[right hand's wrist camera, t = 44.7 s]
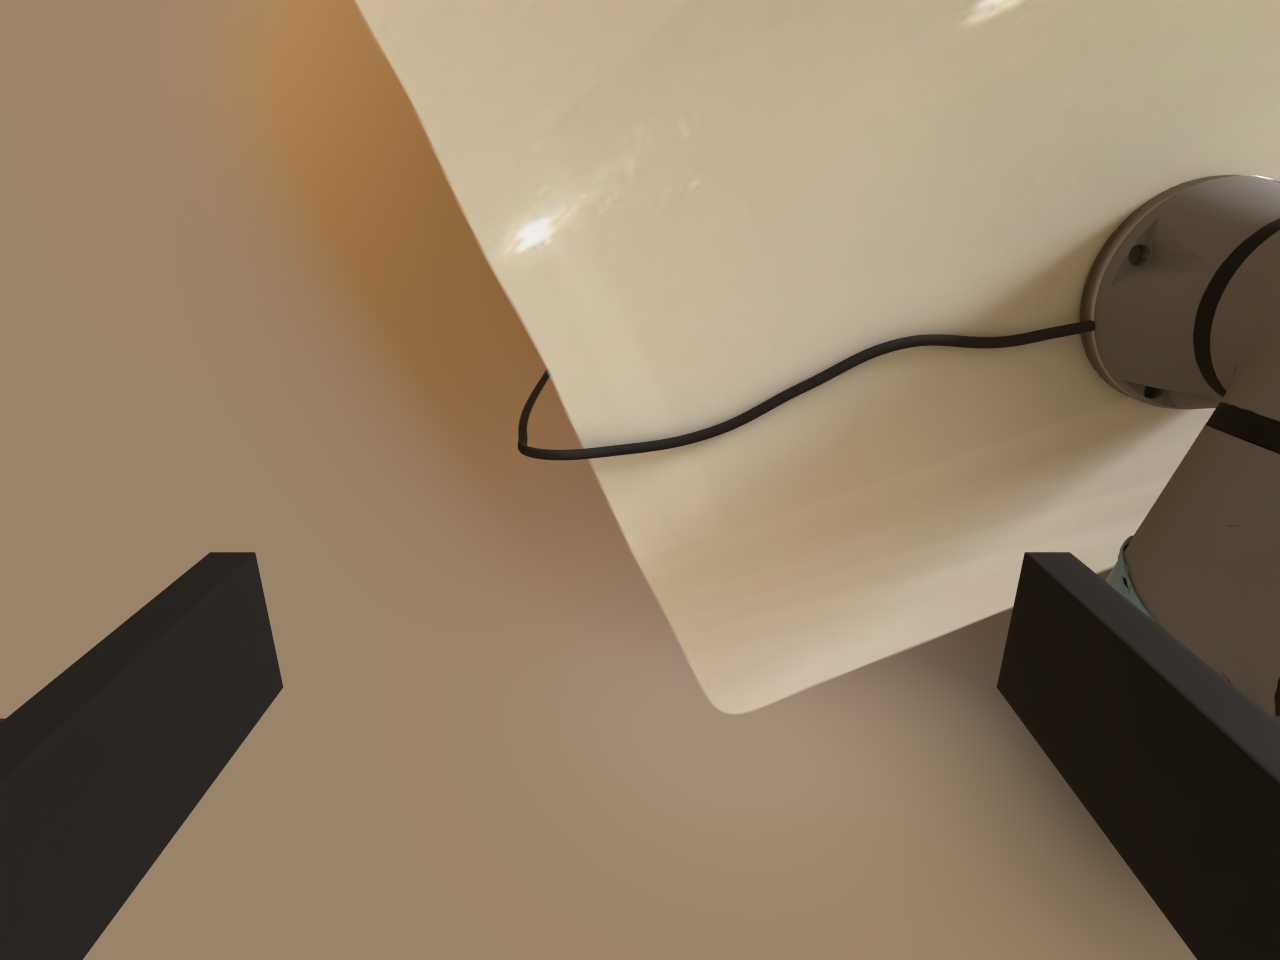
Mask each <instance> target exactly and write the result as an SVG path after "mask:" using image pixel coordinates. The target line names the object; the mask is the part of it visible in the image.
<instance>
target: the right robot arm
mask: <svg viewBox="0 0 1280 960" xmlns="http://www.w3.org/2000/svg"><path fill="white" fill-rule="evenodd" d="M1080 333H1081V335H1082V340H1083V345H1084V348H1085V351H1086V353H1087V356H1088V358H1089V360H1090V362H1091V364H1092V365H1093V367H1094V369H1095V370H1096V371H1097V373H1098V374H1099V375H1100V376H1101V377H1102V378H1103V379H1104V380H1105V381H1106V382H1107V383H1108V384H1109V385H1110V386H1112V387H1113V388H1114V389H1116V390H1118V391H1119V392H1121V393H1123V394H1125V395H1127V396H1129V397H1132V398H1134V399H1137V400H1139V401H1142V402H1144V403H1147V404H1151V405H1154V406H1159V407H1164V408H1173V409H1203V408H1216V409H1215V411H1214V412H1213V414H1212V416H1211V417H1210V419H1209V420H1208V422H1207V423H1206V425H1205V426H1204V428H1203V429H1202V431H1201V432H1200V434H1199V435H1198V437H1197V438H1196V440H1195V442H1194V443H1193V445H1192V446H1191V448H1190V449H1189V451H1188V452H1187V454H1186V455H1185V457H1184V459H1183V460H1182V462H1181V463H1180V465H1179V466H1178V468H1177V469H1176V471H1175V473H1174V474H1173V476H1172V477H1171V479H1170V480H1169V482H1168V483H1167V485H1166V486H1165V488H1164V490H1163V491H1162V493H1161V494H1160V496H1159V497H1158V499H1157V500H1156V502H1155V504H1154V505H1153V507H1152V508H1151V510H1150V511H1149V513H1148V514H1147V516H1146V517H1145V519H1144V521H1143V522H1142V524H1141V525H1140V527H1139V528H1138V530H1137V531H1136V533H1135V535H1134V536H1130V537H1129V538H1127V539H1126V541H1125V542H1124V543H1123V545H1122V546H1121V548H1120V553H1119V556H1118V561H1117V563H1116V564H1115V566H1114V568H1113V570H1112V572H1111V573H1110V575H1109V577H1108V578H1107V580H1106V581H1104V580H1103V579H1102V578H1101V577H1099V576H1098V575H1097V574H1096V573H1094V572H1093V571H1092V570H1091V569H1090V568H1088V567H1087V566H1086V565H1085V564H1083V563H1082V562H1081V561H1080V560H1078V559H1077V558H1076V557H1075V556H1074V555H1072V554H1071V553H1070V552H1025V554H1024V559H1023V564H1022V569H1021V573H1020V578H1019V583H1018V588H1017V593H1016V597H1015V602H1014V607H1013V612H1012V617H1011V621H1010V626H1009V631H1008V636H1007V641H1006V646H1005V651H1004V655H1003V660H1002V665H1001V670H1000V675H999V679H998V684H997V688H998V690H999V691H1000V692H1001V694H1002V695H1003V696H1004V698H1005V699H1006V700H1007V702H1008V703H1009V704H1010V706H1011V707H1012V709H1013V710H1014V711H1015V713H1016V714H1017V715H1018V717H1019V718H1020V719H1021V721H1022V722H1023V723H1024V725H1025V726H1026V728H1027V729H1028V730H1029V732H1030V733H1031V734H1032V736H1033V737H1034V738H1035V740H1036V741H1037V743H1038V744H1039V745H1040V747H1041V748H1042V749H1043V751H1044V752H1045V753H1046V755H1047V756H1048V757H1049V759H1050V760H1051V762H1052V763H1053V764H1054V766H1055V767H1056V768H1057V770H1058V771H1059V772H1060V774H1061V775H1062V776H1063V778H1064V779H1065V781H1066V782H1067V783H1068V785H1069V786H1070V787H1071V789H1072V790H1073V791H1074V793H1075V794H1076V795H1077V797H1078V798H1079V800H1080V801H1081V802H1082V804H1083V805H1084V806H1085V808H1086V809H1087V810H1088V812H1089V813H1090V815H1091V816H1092V817H1093V819H1094V820H1095V821H1096V823H1097V824H1098V825H1099V827H1100V828H1101V829H1102V831H1103V832H1104V834H1105V835H1106V836H1107V838H1108V839H1109V840H1110V842H1111V843H1112V844H1113V846H1114V847H1115V848H1116V850H1117V851H1118V853H1119V854H1120V855H1121V857H1122V858H1123V859H1124V861H1125V862H1126V863H1127V865H1128V866H1129V867H1130V869H1131V870H1132V872H1133V873H1134V874H1135V876H1136V877H1137V878H1138V880H1139V881H1140V882H1141V884H1142V885H1143V886H1144V888H1145V889H1146V891H1147V892H1148V893H1149V895H1150V896H1151V897H1152V899H1153V900H1154V901H1155V903H1156V904H1157V906H1158V907H1159V908H1160V910H1161V911H1162V912H1163V914H1164V915H1165V916H1166V918H1167V919H1168V920H1169V922H1170V923H1171V925H1172V926H1173V927H1174V929H1175V930H1176V931H1177V933H1178V934H1179V935H1180V937H1181V938H1182V939H1183V941H1184V942H1185V943H1186V945H1187V946H1188V948H1189V949H1190V950H1191V952H1192V953H1193V954H1194V956H1195V957H1196V958H1197V960H1280V181H1277V180H1273V179H1270V178H1266V177H1261V176H1254V175H1224V176H1212V177H1205V178H1200V179H1195V180H1192V181H1188V182H1185V183H1182V184H1180V185H1177V186H1175V187H1172V188H1170V189H1168V190H1166V191H1164V192H1162V193H1160V194H1159V195H1157V196H1156V197H1154V198H1152V199H1151V200H1149V201H1148V202H1146V203H1145V204H1144V205H1142V206H1141V207H1139V208H1138V209H1137V210H1136V211H1135V212H1134V213H1132V214H1131V215H1130V216H1129V217H1128V218H1127V219H1126V220H1125V221H1124V222H1123V223H1122V224H1121V225H1120V226H1119V227H1118V228H1117V230H1116V231H1115V232H1114V233H1113V234H1112V235H1111V237H1110V238H1109V240H1108V241H1107V242H1106V244H1105V245H1104V246H1103V248H1102V250H1101V251H1100V253H1099V255H1098V256H1097V258H1096V260H1095V262H1094V264H1093V266H1092V268H1091V271H1090V273H1089V276H1088V278H1087V281H1086V285H1085V288H1084V292H1083V297H1082V301H1081V310H1080V322H1078V323H1073V324H1068V325H1063V326H1058V327H1052V328H1047V329H1042V330H1038V331H1033V332H1029V333H1024V334H1018V335H1012V336H1002V337H968V336H955V335H917V336H910V337H905V338H900V339H896V340H892V341H888V342H885V343H882V344H879V345H876V346H873V347H871V348H868V349H866V350H864V351H862V352H859V353H857V354H855V355H853V356H851V357H849V358H847V359H845V360H843V361H841V362H840V363H838V364H836V365H834V366H832V367H830V368H829V369H827V370H825V371H823V372H821V373H819V374H817V375H815V376H813V377H811V378H809V379H807V380H805V381H803V382H801V383H799V384H797V385H795V386H793V387H791V388H789V389H787V390H785V391H783V392H781V393H779V394H778V395H776V396H774V397H772V398H770V399H769V400H767V401H765V402H763V403H761V404H760V405H758V406H756V407H754V408H752V409H751V410H749V411H747V412H745V413H743V414H741V415H739V416H737V417H735V418H732V419H730V420H728V421H726V422H723V423H721V424H718V425H715V426H712V427H710V428H706V429H703V430H700V431H697V432H693V433H690V434H686V435H682V436H678V437H673V438H668V439H662V440H656V441H649V442H641V443H633V444H624V445H616V446H607V447H598V448H588V449H575V450H547V449H538V448H532V447H529V446H527V440H528V438H527V424H528V419H529V416H530V413H531V410H532V408H533V406H534V403H535V401H536V399H537V398H538V396H539V394H540V392H541V390H542V389H543V387H544V385H545V384H546V382H547V380H548V379H549V377H550V373H549V371H548V369H546V371H545V372H544V374H543V376H542V377H541V379H540V380H539V382H538V383H537V385H536V386H535V388H534V390H533V391H532V393H531V395H530V396H529V398H528V400H527V402H526V404H525V406H524V408H523V410H522V413H521V417H520V420H519V426H518V450H519V451H520V453H521V454H523V455H525V456H528V457H532V458H537V459H545V460H578V459H590V458H600V457H609V456H617V455H626V454H635V453H643V452H651V451H658V450H664V449H670V448H675V447H680V446H684V445H688V444H692V443H696V442H699V441H702V440H706V439H709V438H712V437H715V436H718V435H720V434H723V433H726V432H728V431H731V430H733V429H735V428H738V427H740V426H742V425H744V424H746V423H748V422H750V421H752V420H754V419H756V418H757V417H759V416H761V415H763V414H765V413H767V412H768V411H770V410H772V409H774V408H775V407H777V406H779V405H781V404H783V403H785V402H786V401H788V400H790V399H792V398H794V397H796V396H798V395H800V394H802V393H804V392H806V391H809V390H811V389H813V388H815V387H817V386H819V385H821V384H823V383H825V382H827V381H828V380H830V379H832V378H834V377H836V376H838V375H840V374H841V373H843V372H845V371H847V370H849V369H851V368H853V367H855V366H857V365H859V364H861V363H863V362H865V361H867V360H870V359H872V358H875V357H877V356H880V355H883V354H886V353H889V352H892V351H896V350H900V349H905V348H910V347H917V346H954V347H967V348H1002V347H1012V346H1018V345H1024V344H1029V343H1034V342H1039V341H1043V340H1048V339H1053V338H1059V337H1064V336H1069V335H1075V334H1080ZM282 688H283V684H282V679H281V674H280V670H279V665H278V660H277V655H276V650H275V646H274V641H273V636H272V631H271V626H270V621H269V617H268V612H267V607H266V602H265V597H264V593H263V588H262V583H261V578H260V573H259V569H258V564H257V559H256V554H255V552H210V553H209V554H208V555H206V556H205V557H204V558H203V559H202V560H200V561H199V562H198V563H197V564H195V565H194V566H193V567H192V568H190V569H189V570H188V571H187V572H186V573H184V574H183V575H182V576H181V577H179V578H178V579H177V580H176V581H174V582H173V583H172V584H171V585H170V586H168V587H167V588H166V589H165V590H163V591H162V592H161V593H160V594H159V595H157V596H156V597H155V598H154V599H152V600H151V601H150V602H149V603H147V604H146V605H145V606H144V607H143V608H141V609H140V610H139V611H138V612H136V613H135V614H134V615H133V616H131V617H130V618H129V619H128V620H127V621H125V622H124V623H123V624H122V625H120V626H119V627H118V628H117V629H116V630H114V631H113V632H112V633H111V634H109V635H108V636H107V637H106V638H104V639H103V640H102V641H101V642H100V643H98V644H97V645H96V646H95V647H93V648H92V649H91V650H90V651H88V652H87V653H86V654H85V655H84V656H82V657H81V658H80V659H79V660H77V661H76V662H75V663H74V664H72V665H71V666H70V667H69V668H68V669H66V670H65V671H64V672H63V673H61V674H60V675H59V676H58V677H57V678H55V679H54V680H53V681H52V682H50V683H49V684H48V685H47V686H45V687H44V688H43V689H42V690H41V691H39V692H38V693H37V694H36V695H34V696H33V697H32V698H31V699H29V700H28V701H27V702H26V703H25V704H23V705H22V706H21V707H20V708H18V709H17V710H16V711H15V712H14V713H12V714H11V715H10V716H9V717H7V718H6V719H0V960H83V958H84V957H85V956H86V954H87V953H88V952H89V950H90V949H91V948H92V946H93V945H94V944H95V942H96V941H97V939H98V938H99V937H100V935H101V934H102V933H103V931H104V930H105V929H106V927H107V926H108V925H109V923H110V922H111V920H112V919H113V918H114V916H115V915H116V914H117V912H118V911H119V910H120V908H121V907H122V905H123V904H124V903H125V901H126V900H127V899H128V897H129V896H130V895H131V893H132V892H133V891H134V889H135V888H136V886H137V885H138V884H139V882H140V881H141V880H142V878H143V877H144V876H145V874H146V873H147V872H148V870H149V869H150V867H151V866H152V865H153V863H154V862H155V861H156V859H157V858H158V857H159V855H160V854H161V853H162V851H163V850H164V848H165V847H166V846H167V844H168V843H169V842H170V840H171V839H172V838H173V836H174V835H175V834H176V832H177V831H178V829H179V828H180V827H181V825H182V824H183V823H184V821H185V820H186V819H187V817H188V816H189V814H190V813H191V812H192V810H193V809H194V808H195V806H196V805H197V804H198V802H199V801H200V800H201V798H202V797H203V795H204V794H205V793H206V791H207V790H208V789H209V787H210V786H211V785H212V783H213V782H214V781H215V779H216V778H217V776H218V775H219V774H220V772H221V771H222V770H223V768H224V767H225V766H226V764H227V763H228V762H229V760H230V759H231V757H232V756H233V755H234V753H235V752H236V751H237V749H238V748H239V746H240V745H241V744H242V742H243V741H244V740H245V738H246V737H247V736H248V734H249V733H250V732H251V730H252V729H253V728H254V726H255V725H256V724H257V722H258V721H259V719H260V718H261V717H262V715H263V714H264V712H265V711H266V710H267V708H268V707H269V706H270V705H271V703H272V702H273V700H274V699H275V698H276V696H277V695H278V694H279V692H280V691H281V690H282Z"/></svg>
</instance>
